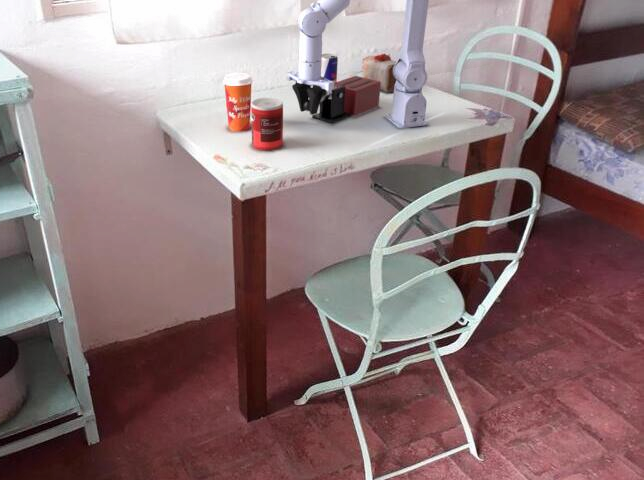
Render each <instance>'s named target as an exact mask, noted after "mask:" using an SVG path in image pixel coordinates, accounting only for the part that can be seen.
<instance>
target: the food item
mask: <svg viewBox="0 0 644 480" xmlns="http://www.w3.org/2000/svg"><path fill="white" fill-rule="evenodd" d="M390 55H391V53H388V54H386V53H382V54H377V55H368V56H365V57H362V61H361V63H362V64H361V69H362V70H361V77H363V78H367V79H371V80H376V81H380V82H381V85H380V91H383V92H385V93H389V94H391V93H394V85H395V83H396V78H395V77H394V75H393V68H394V65H395V64H396V62H397V61H395V60H393V59H391V56H390Z"/></svg>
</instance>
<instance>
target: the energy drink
mask: <svg viewBox="0 0 644 480" xmlns="http://www.w3.org/2000/svg"><path fill="white" fill-rule="evenodd" d="M338 60H339V58H338V55H337V54H335V53H322V63H321V76H322V77H324V78H326V79H328V80H330V81H332V82H334V83H336V82H338V81H337V80H338V65H339V64H338V62H339V61H338Z"/></svg>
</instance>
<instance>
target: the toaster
mask: <svg viewBox="0 0 644 480" xmlns="http://www.w3.org/2000/svg"><path fill="white" fill-rule="evenodd" d="M380 85H381V82H380V81H376V80H371V79H367V78H363V77H362V76H359V75H353V76H350V77H348V78H343V79H342V80H339V81H337V82H336V83H334V87H340V86H345V99H344V112H346V113H349V114H351V117H352V118H356V117H359V116H362V115H364V114H367V113H369V112H372V111H374V110H377V109H378V108H380V97H381V90H380Z"/></svg>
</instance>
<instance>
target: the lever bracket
mask: <svg viewBox="0 0 644 480" xmlns="http://www.w3.org/2000/svg"><path fill="white" fill-rule="evenodd" d="M324 94H326V92H325V93H324ZM344 99H345V86H340V87H337V88H335V89H333V90H332V97H331V99H326V100H324V101H322V102H320V104H319V112H317V113H316V114H313V115H311V118H312V119H314V120H317V121H320V122H322V123H323V122H324V123H327V124H330V125H333V124H336V123H338V122H341V121H343V120H345V119H348V118H351V117H352V116H351V114H349V113H346V112H344Z"/></svg>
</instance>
